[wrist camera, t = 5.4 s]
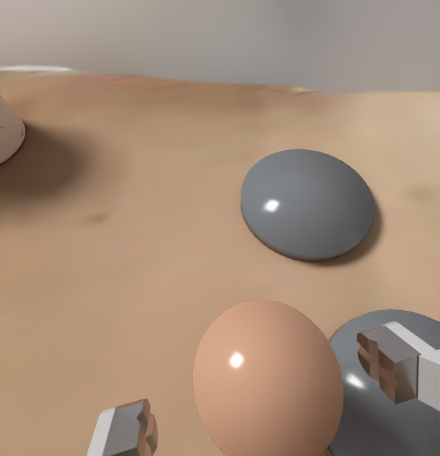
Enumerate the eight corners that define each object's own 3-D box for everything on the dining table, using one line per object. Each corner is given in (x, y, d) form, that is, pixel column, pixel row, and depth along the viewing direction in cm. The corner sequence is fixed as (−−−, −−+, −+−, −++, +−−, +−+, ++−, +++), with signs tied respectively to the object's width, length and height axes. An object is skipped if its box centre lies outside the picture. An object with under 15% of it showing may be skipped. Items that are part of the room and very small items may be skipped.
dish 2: (379, 585, 11) (392, 604, 10) (287, 337, 15) (291, 336, 14) (573, 502, 12) (601, 513, 11) (431, 294, 16) (442, 290, 15)
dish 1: (265, 277, 17) (267, 272, 16) (226, 171, 22) (226, 163, 21) (394, 241, 18) (403, 235, 17) (330, 147, 23) (334, 139, 22)
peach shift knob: (222, 422, 13) (213, 501, 6) (205, 343, 15) (180, 320, 8) (291, 399, 14) (374, 442, 6) (266, 325, 16) (304, 285, 8)
